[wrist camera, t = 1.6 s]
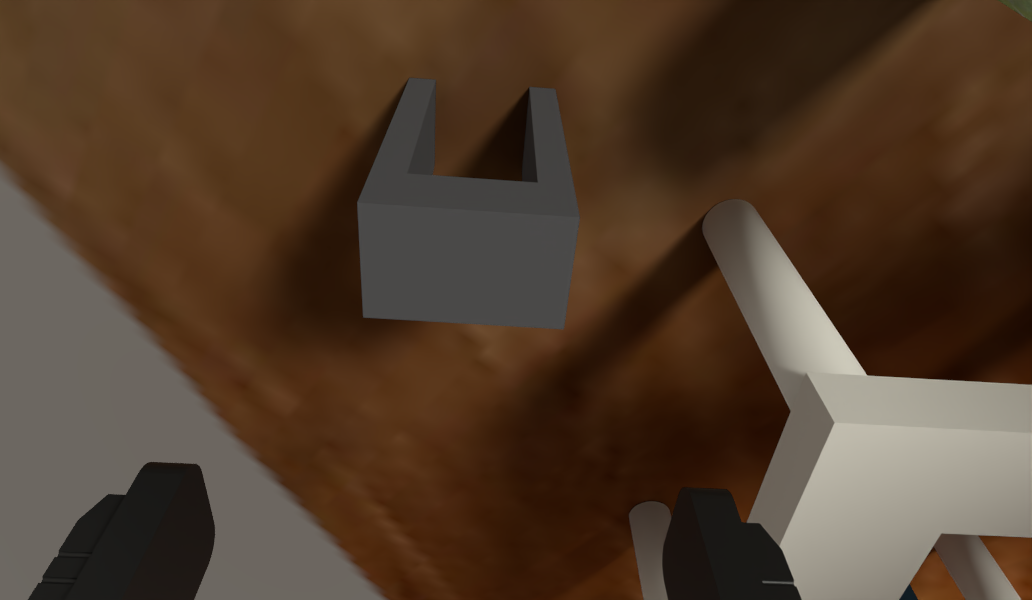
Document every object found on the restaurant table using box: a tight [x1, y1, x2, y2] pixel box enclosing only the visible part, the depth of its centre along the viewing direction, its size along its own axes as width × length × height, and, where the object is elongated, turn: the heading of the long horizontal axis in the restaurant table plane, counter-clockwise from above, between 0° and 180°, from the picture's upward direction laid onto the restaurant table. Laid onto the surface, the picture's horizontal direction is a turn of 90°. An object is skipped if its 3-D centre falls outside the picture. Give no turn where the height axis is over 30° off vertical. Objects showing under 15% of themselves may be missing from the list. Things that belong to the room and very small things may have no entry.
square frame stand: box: [629, 199, 1032, 600], centre depth 29 cm, size 21×22×16 cm
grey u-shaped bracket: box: [357, 78, 580, 329], centre depth 23 cm, size 6×4×11 cm, turn 85°
